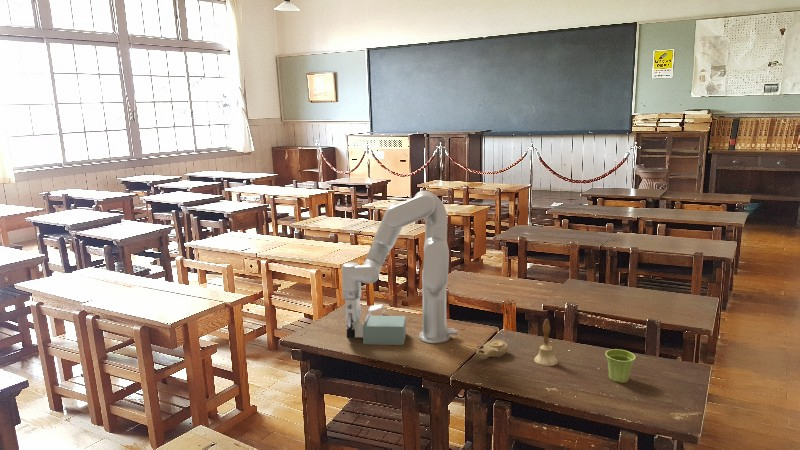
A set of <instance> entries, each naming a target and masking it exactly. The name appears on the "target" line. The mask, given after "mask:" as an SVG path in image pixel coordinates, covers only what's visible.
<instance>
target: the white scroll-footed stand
mask: <svg viewBox="0 0 800 450" xmlns="http://www.w3.org/2000/svg"><path fill="white" fill-rule="evenodd" d="M382 308H383V309H382ZM379 310H380V311H381V312H382V313H381V314H380V316H385V315H384V313H386V312H387V309H386V308H385V306H384V304H382V303H381V304H375V305H370V306H369V308H368V309H367V312H368V313H367V315H368V314H369V315H370V316H372V313H373V312H377V311H379ZM367 315H366V316H365V318H366V317H367Z"/></svg>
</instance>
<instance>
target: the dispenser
mask: <svg viewBox="0 0 800 450" xmlns="http://www.w3.org/2000/svg"><path fill="white" fill-rule="evenodd" d="M366 316H367V317H366ZM366 316H365V319H364V321H363V323H364V324H363V337H362V339H363V340H362V342H363V345H388V346H389V345H390V346H392V345H393V346H394V345H395V346H404V344H405V340H406V334H407V331H406V330H407V329H406V328H407V327H406V325H407V324H406V320H407V319H406V318H407V317H406V315H371V316H370V314H368V313H367V315H366Z"/></svg>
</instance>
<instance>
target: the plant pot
mask: <svg viewBox="0 0 800 450" xmlns="http://www.w3.org/2000/svg"><path fill="white" fill-rule="evenodd" d="M604 355H605V357H606V360H607V368H608V369H607V370H608V378H609V379H610V380H611V381H612V382H618V383H620V384H622V383H627V382H628V381H629V378H630V374H631V369H632V365H633V364H634V362H635V360H636V355H635V354H634V352H633V353H632V352H630V351H628V350H625V349H618V348H614V349H609V350H606V352H605V354H604Z"/></svg>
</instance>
